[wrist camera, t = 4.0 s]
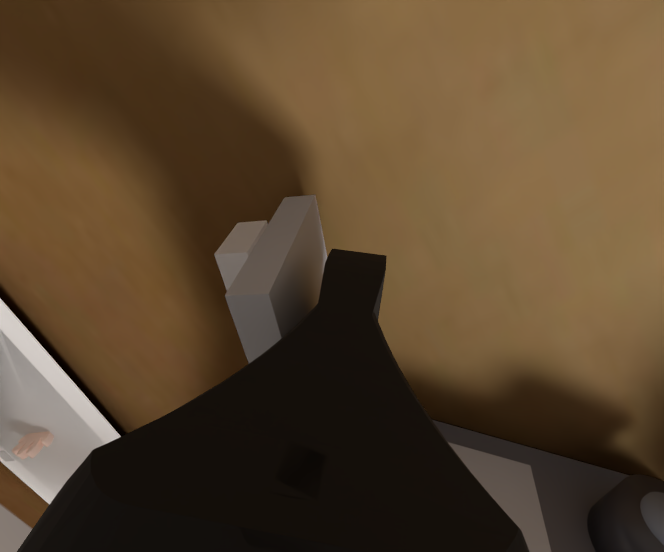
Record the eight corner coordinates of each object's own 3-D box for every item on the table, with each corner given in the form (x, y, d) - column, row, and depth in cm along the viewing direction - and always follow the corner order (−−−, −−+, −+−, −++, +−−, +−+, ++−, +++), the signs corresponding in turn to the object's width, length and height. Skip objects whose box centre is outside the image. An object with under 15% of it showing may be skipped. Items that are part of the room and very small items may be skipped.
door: (358, 392, 15) (340, 529, 11) (314, 392, 15) (281, 524, 12) (321, 184, 11) (272, 289, 7) (261, 189, 11) (185, 292, 8)
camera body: (563, 567, 19) (605, 734, 15) (301, 493, 19) (269, 639, 15) (704, 459, 14) (829, 663, 10) (351, 359, 14) (324, 520, 10)
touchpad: (6, 258, 15) (-50, 295, 13) (207, 504, 22) (189, 549, 20) (-135, 297, 17) (-199, 334, 15) (89, 508, 24) (63, 549, 23)
